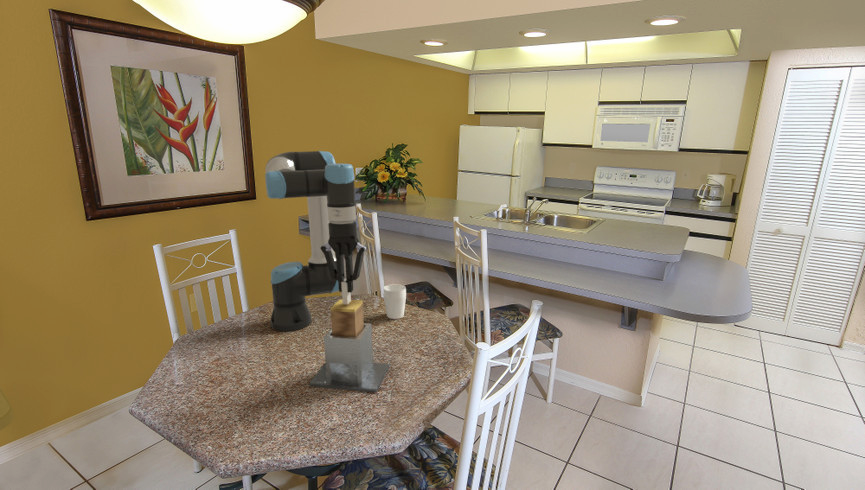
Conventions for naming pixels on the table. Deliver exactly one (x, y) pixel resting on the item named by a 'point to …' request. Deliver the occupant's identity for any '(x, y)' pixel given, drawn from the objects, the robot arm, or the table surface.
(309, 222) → the robot arm
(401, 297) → the cup
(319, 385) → the chute
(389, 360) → the table surface
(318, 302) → the table surface
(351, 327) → the block
